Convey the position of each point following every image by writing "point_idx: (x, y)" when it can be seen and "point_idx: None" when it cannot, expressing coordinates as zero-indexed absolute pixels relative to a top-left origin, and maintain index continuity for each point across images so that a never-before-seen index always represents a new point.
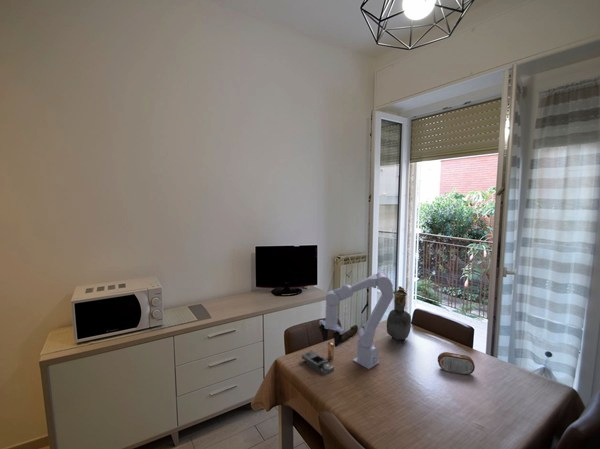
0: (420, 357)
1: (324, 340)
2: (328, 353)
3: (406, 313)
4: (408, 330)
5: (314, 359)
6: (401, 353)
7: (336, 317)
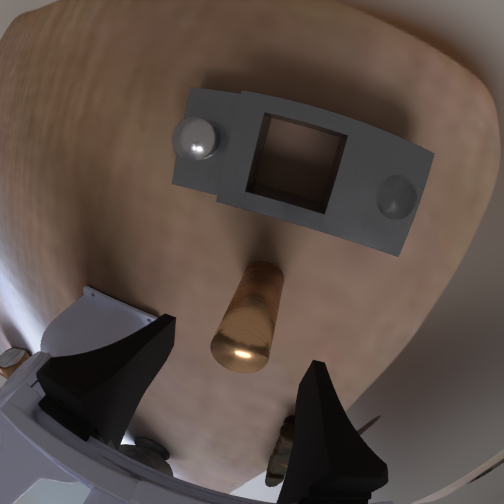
0: None
1: (311, 364)
2: (263, 285)
3: None
4: None
5: (333, 178)
6: None
7: None
